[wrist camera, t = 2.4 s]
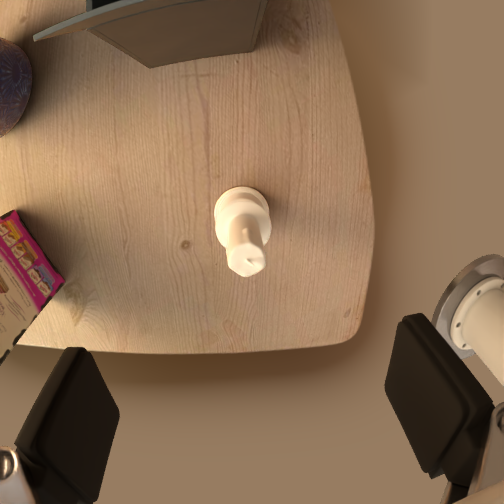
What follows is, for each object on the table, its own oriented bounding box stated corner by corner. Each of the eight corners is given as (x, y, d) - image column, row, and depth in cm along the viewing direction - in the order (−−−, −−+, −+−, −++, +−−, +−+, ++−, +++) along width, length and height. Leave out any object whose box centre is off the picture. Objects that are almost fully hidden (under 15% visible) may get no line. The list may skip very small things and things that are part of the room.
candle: (276, 196, 31) (302, 238, 20) (258, 245, 33) (272, 308, 22) (224, 179, 30) (219, 212, 19) (207, 229, 32) (195, 288, 21)
